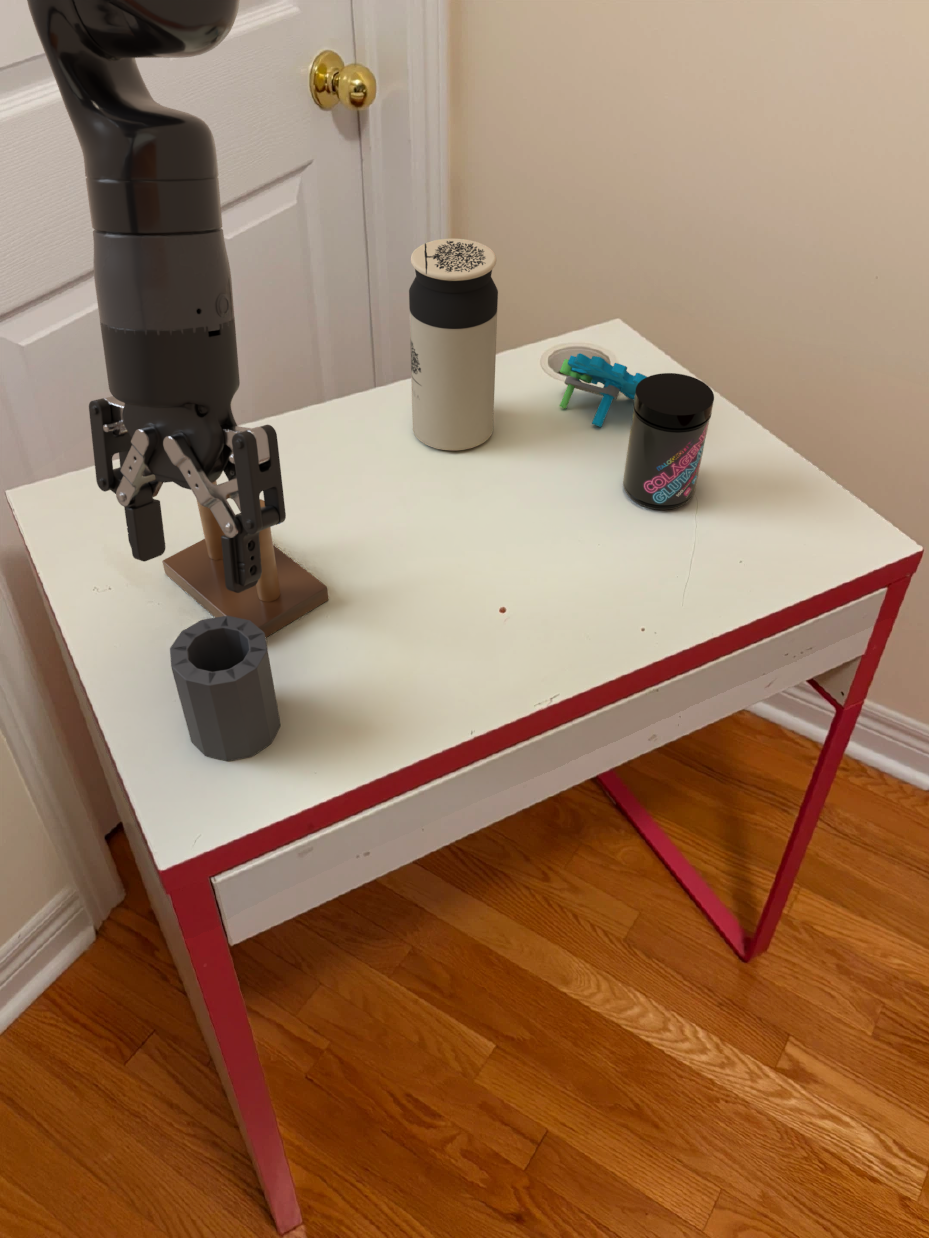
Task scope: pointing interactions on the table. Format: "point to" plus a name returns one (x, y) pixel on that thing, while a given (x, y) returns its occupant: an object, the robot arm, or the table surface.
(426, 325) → the travel mug
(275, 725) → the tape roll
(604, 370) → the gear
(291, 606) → the rack
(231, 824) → the table surface
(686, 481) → the supplement container
